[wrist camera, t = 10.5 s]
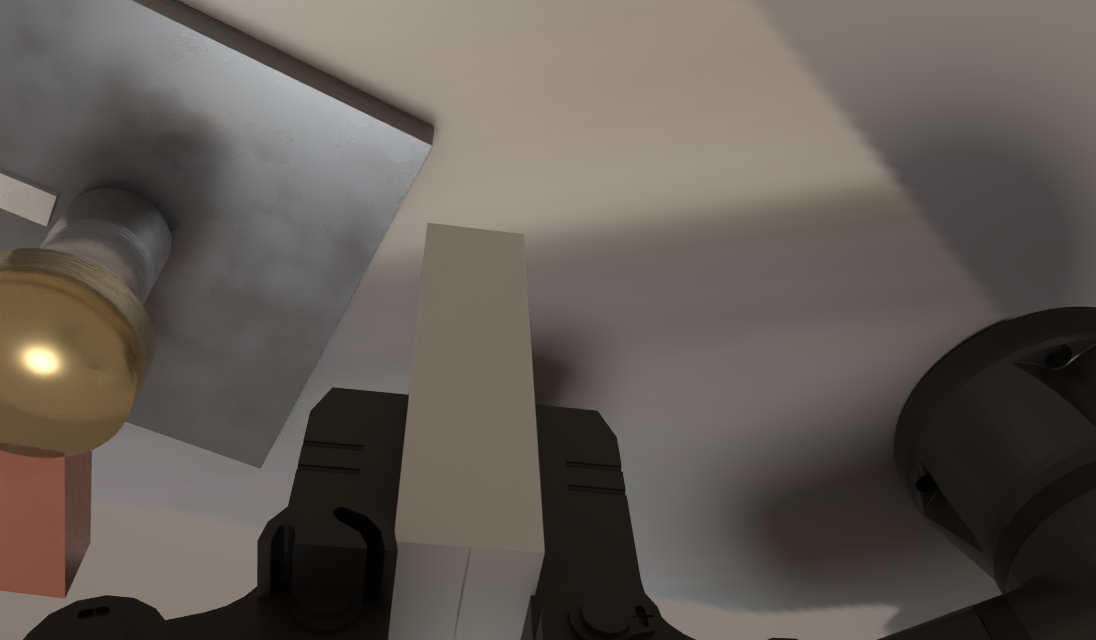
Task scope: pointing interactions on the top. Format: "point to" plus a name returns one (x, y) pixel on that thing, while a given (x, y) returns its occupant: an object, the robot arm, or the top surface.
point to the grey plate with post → (199, 196)
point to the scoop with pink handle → (59, 405)
